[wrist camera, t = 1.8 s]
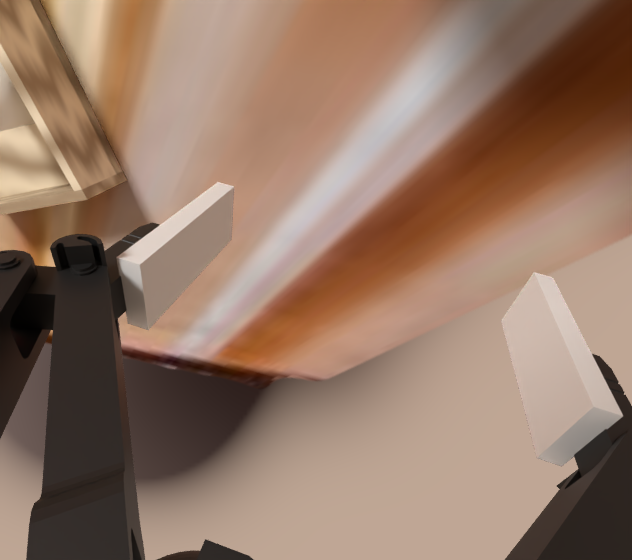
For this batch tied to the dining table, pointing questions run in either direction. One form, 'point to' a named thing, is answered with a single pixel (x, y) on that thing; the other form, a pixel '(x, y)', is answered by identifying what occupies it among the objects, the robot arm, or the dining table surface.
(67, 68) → the crate
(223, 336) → the dining table surface
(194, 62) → the dining table surface
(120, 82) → the dining table surface
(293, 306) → the dining table surface
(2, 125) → the white light bulb
